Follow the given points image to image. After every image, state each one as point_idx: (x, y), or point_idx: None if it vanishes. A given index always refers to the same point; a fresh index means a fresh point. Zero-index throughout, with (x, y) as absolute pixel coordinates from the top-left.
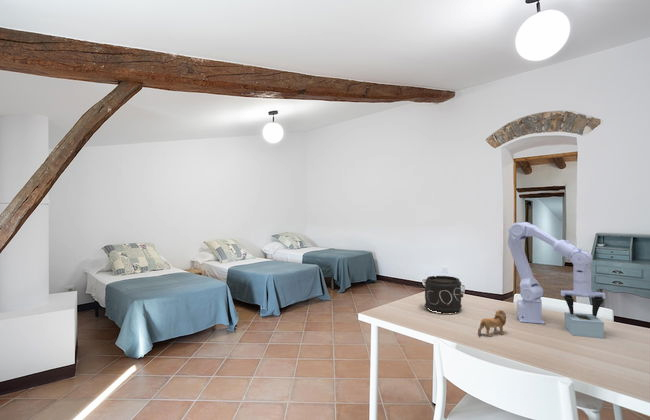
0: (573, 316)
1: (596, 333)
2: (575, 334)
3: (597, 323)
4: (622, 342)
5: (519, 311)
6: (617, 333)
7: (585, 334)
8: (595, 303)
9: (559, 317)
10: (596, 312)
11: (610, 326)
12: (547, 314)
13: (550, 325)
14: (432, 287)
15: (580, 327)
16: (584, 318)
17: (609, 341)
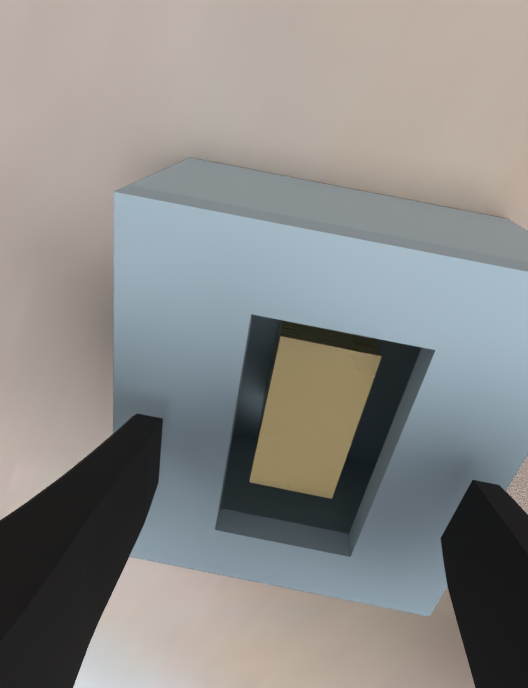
0: (442, 471)
1: (259, 180)
2: (485, 216)
3: (219, 206)
4: (38, 19)
5: None
6: (3, 332)
7: (381, 196)
8: (9, 657)
9: (302, 637)
10: (107, 453)
11: (8, 487)
12: (353, 681)
13: (521, 492)
14: None
15: (458, 229)
16: (262, 469)
17: (179, 33)
